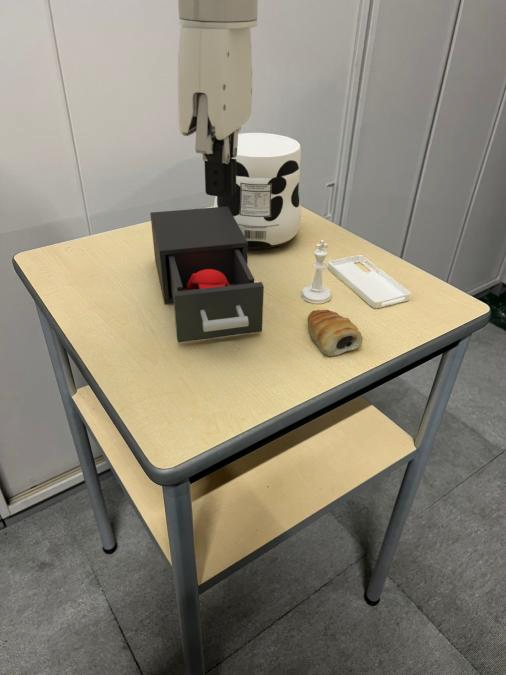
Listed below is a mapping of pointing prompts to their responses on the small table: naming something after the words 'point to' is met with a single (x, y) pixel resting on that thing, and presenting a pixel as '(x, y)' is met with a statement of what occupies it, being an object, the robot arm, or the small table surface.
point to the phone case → (369, 282)
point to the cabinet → (192, 237)
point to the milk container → (266, 189)
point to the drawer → (215, 296)
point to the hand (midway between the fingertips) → (220, 193)
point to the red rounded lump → (207, 279)
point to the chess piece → (317, 279)
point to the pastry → (333, 332)
